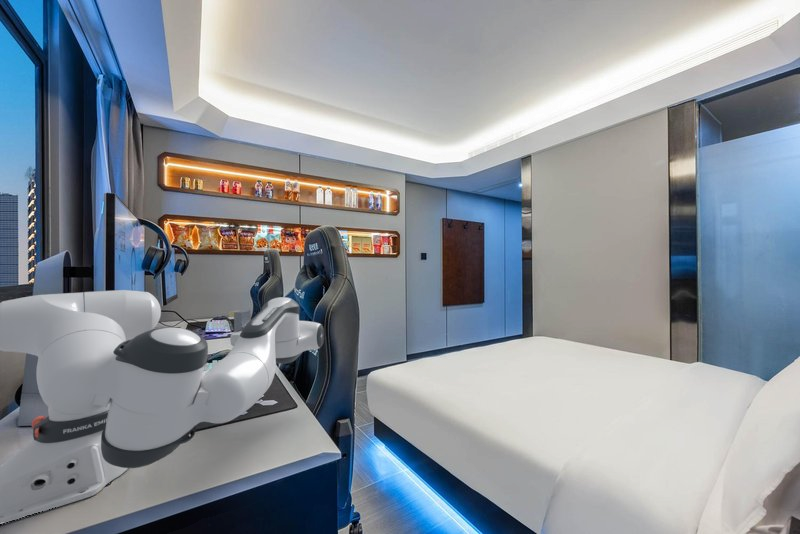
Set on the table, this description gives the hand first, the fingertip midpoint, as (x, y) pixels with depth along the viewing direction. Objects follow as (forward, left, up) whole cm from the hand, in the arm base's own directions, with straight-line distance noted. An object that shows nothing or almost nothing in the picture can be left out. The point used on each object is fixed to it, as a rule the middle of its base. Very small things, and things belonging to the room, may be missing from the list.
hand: (240, 332), depth 104 cm
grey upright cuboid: (0, -1, -10) cm, 10 cm away
